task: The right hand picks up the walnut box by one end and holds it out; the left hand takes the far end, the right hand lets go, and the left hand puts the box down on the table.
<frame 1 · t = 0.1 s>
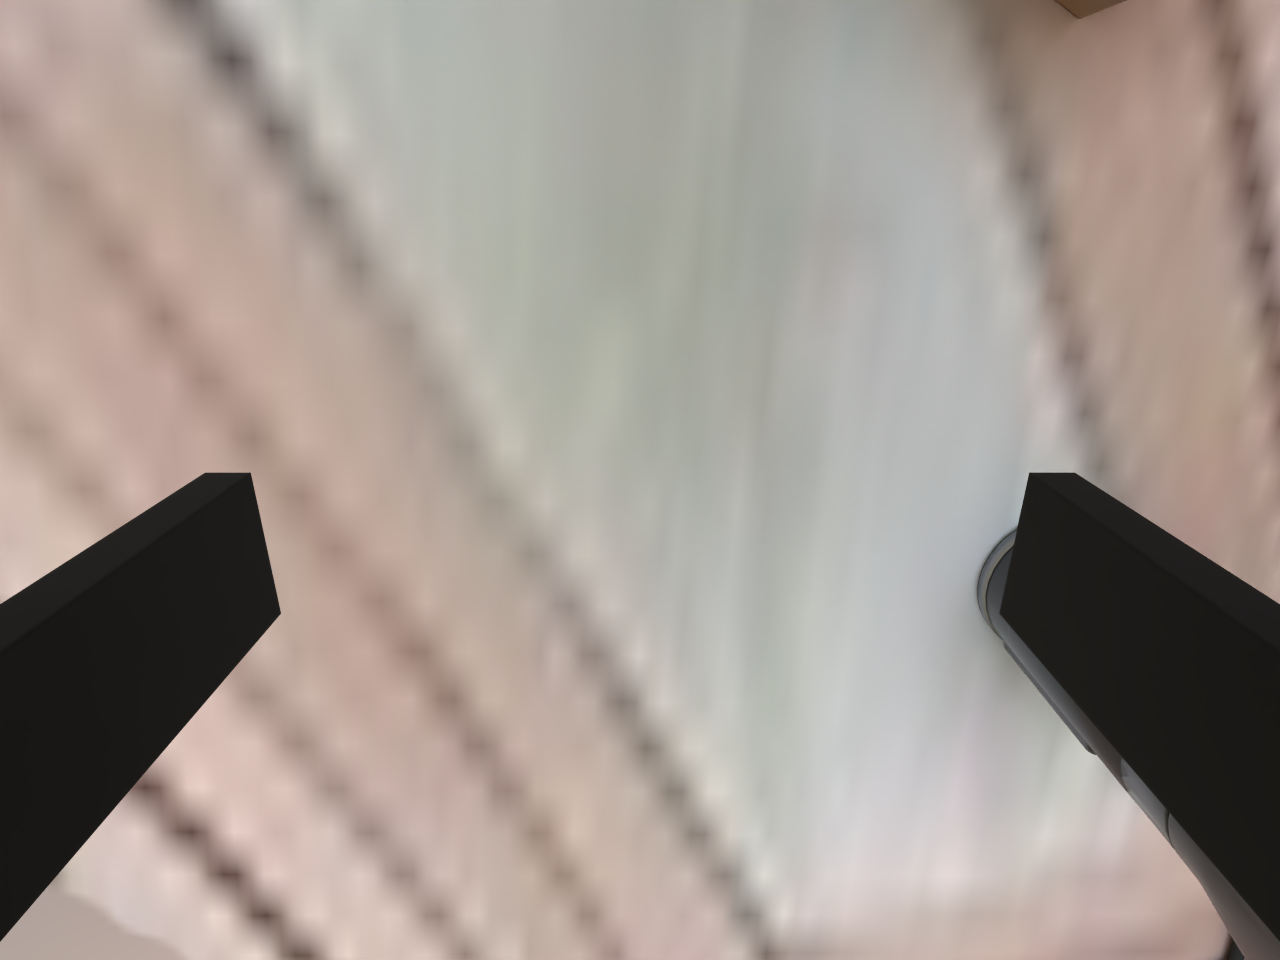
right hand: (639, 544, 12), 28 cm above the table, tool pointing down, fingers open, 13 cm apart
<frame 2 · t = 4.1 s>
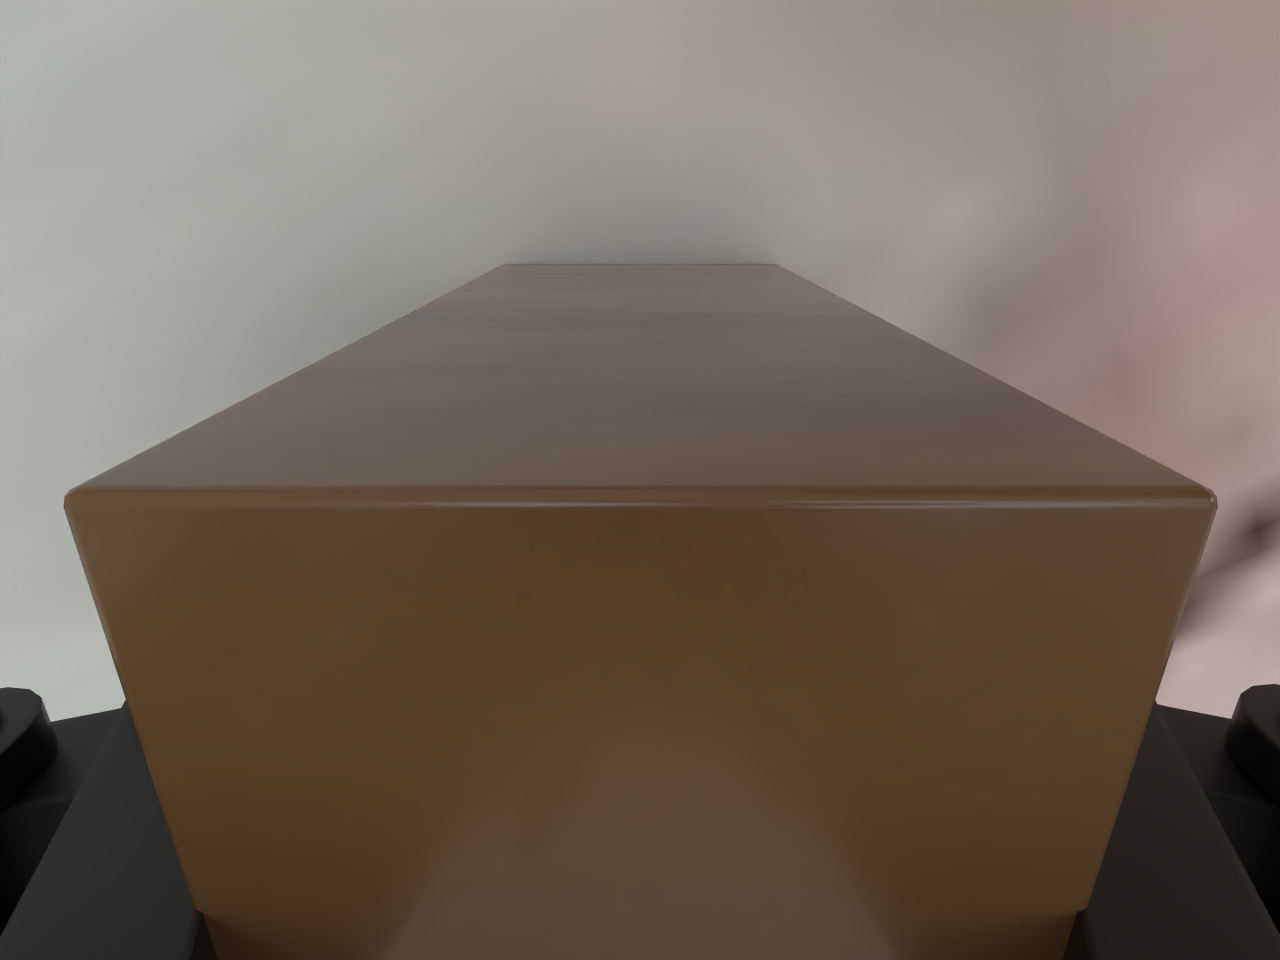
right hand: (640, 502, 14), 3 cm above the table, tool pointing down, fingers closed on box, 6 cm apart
box: (640, 706, 20), on the table, touching right hand
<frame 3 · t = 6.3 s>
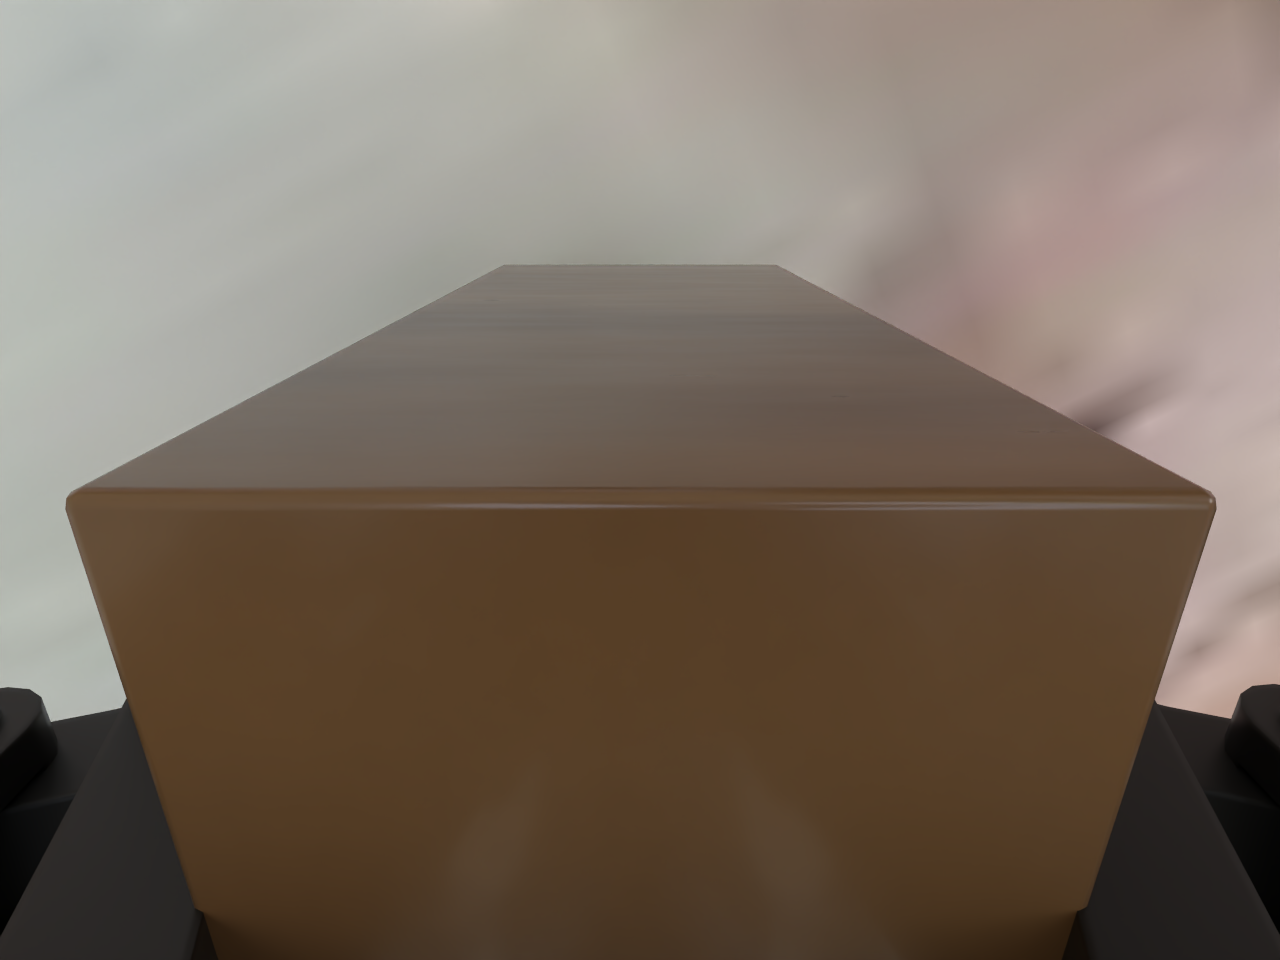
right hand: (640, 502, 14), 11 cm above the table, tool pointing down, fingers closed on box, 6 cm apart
box: (640, 706, 20), point 7 cm above the table, touching right hand
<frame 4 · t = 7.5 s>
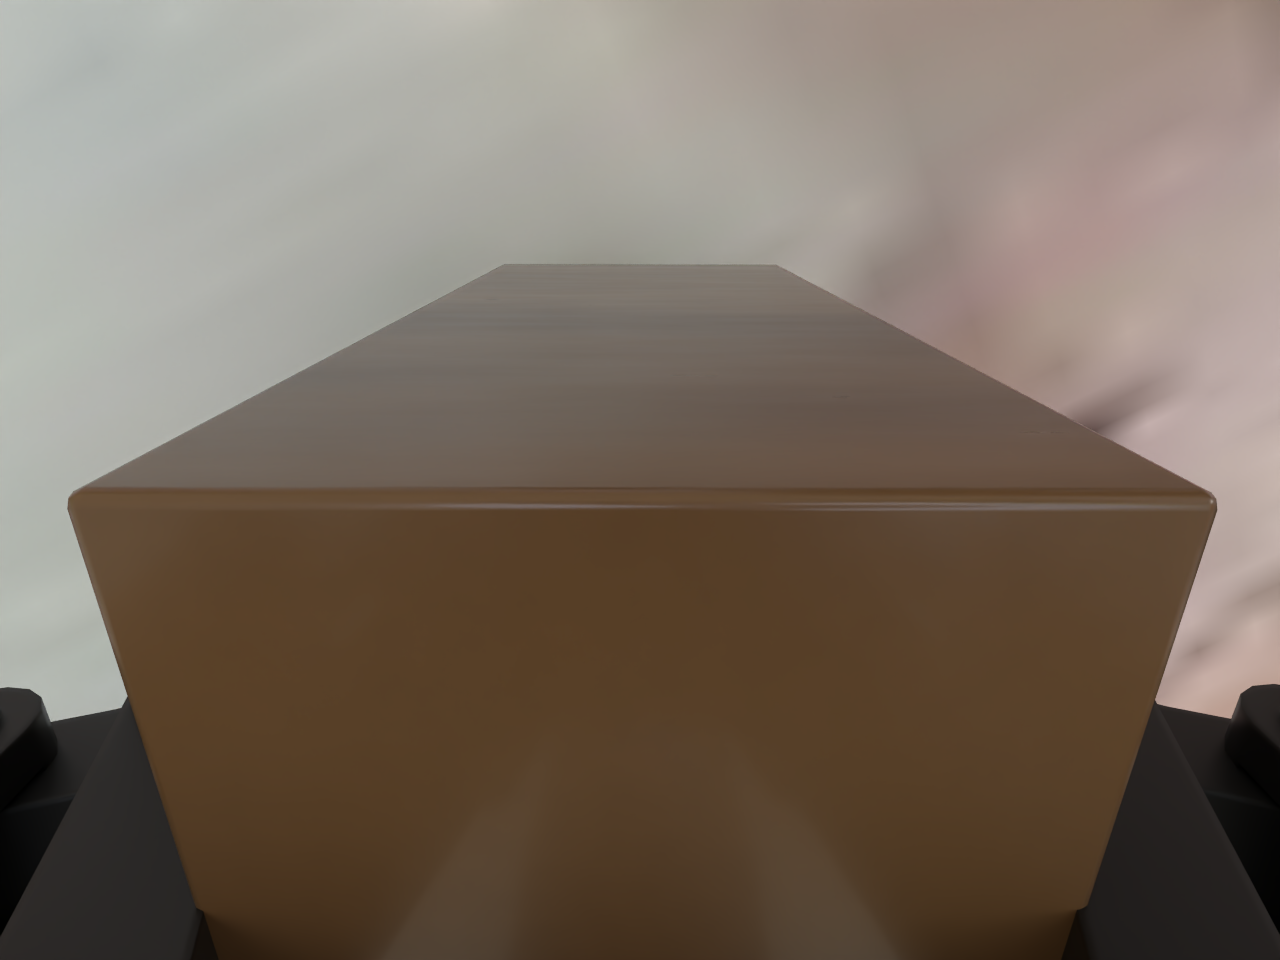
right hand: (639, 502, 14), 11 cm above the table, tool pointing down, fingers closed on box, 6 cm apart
box: (639, 705, 20), point 7 cm above the table, touching right hand, left hand
when the right hand's fingers open (11 cm above the table, at t = 8.5 s): box stays where it is, held by the left hand.
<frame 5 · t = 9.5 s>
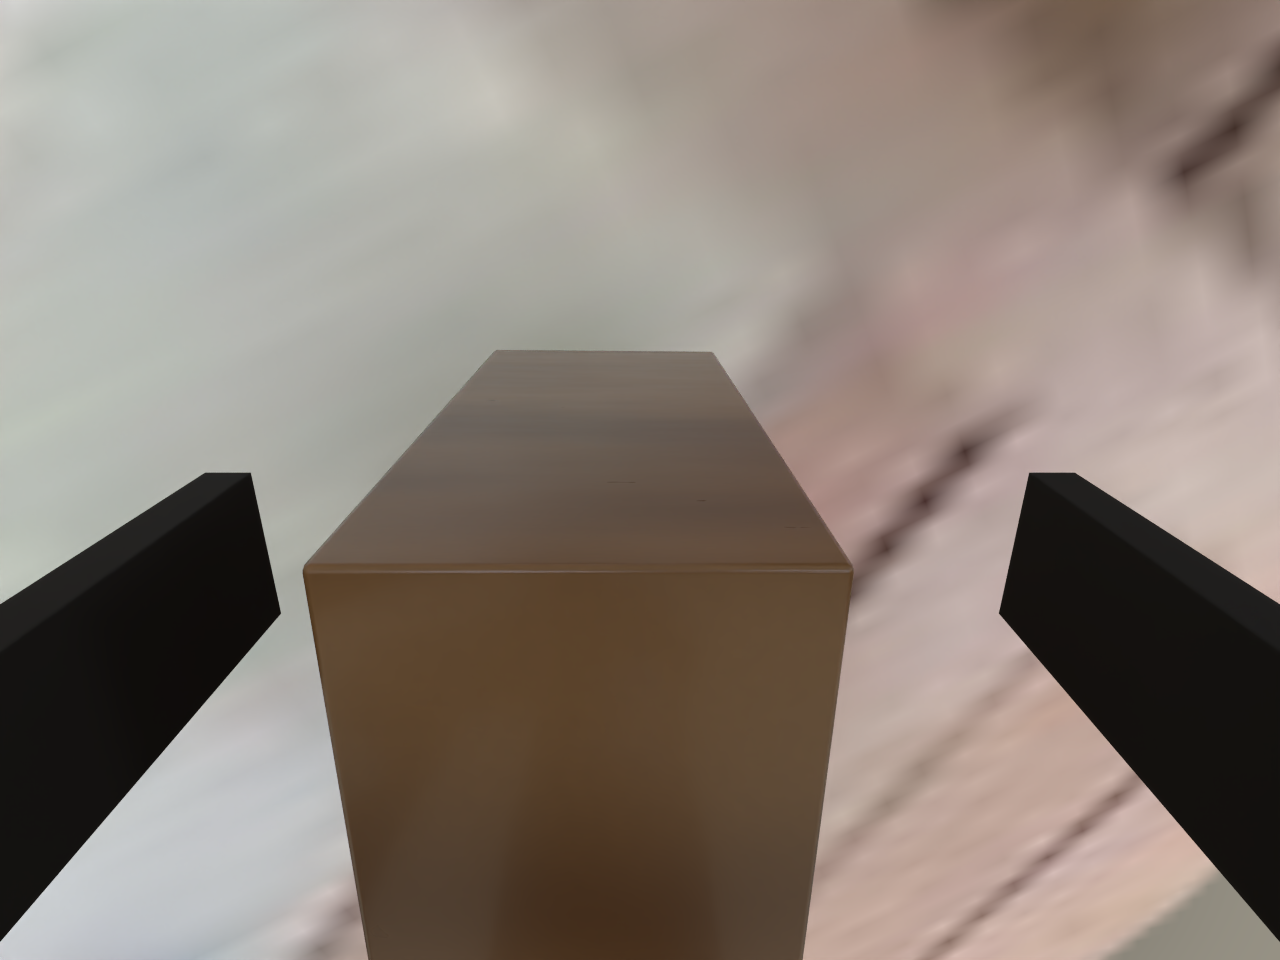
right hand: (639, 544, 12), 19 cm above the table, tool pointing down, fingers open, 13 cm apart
box: (605, 704, 24), point 10 cm above the table, touching left hand
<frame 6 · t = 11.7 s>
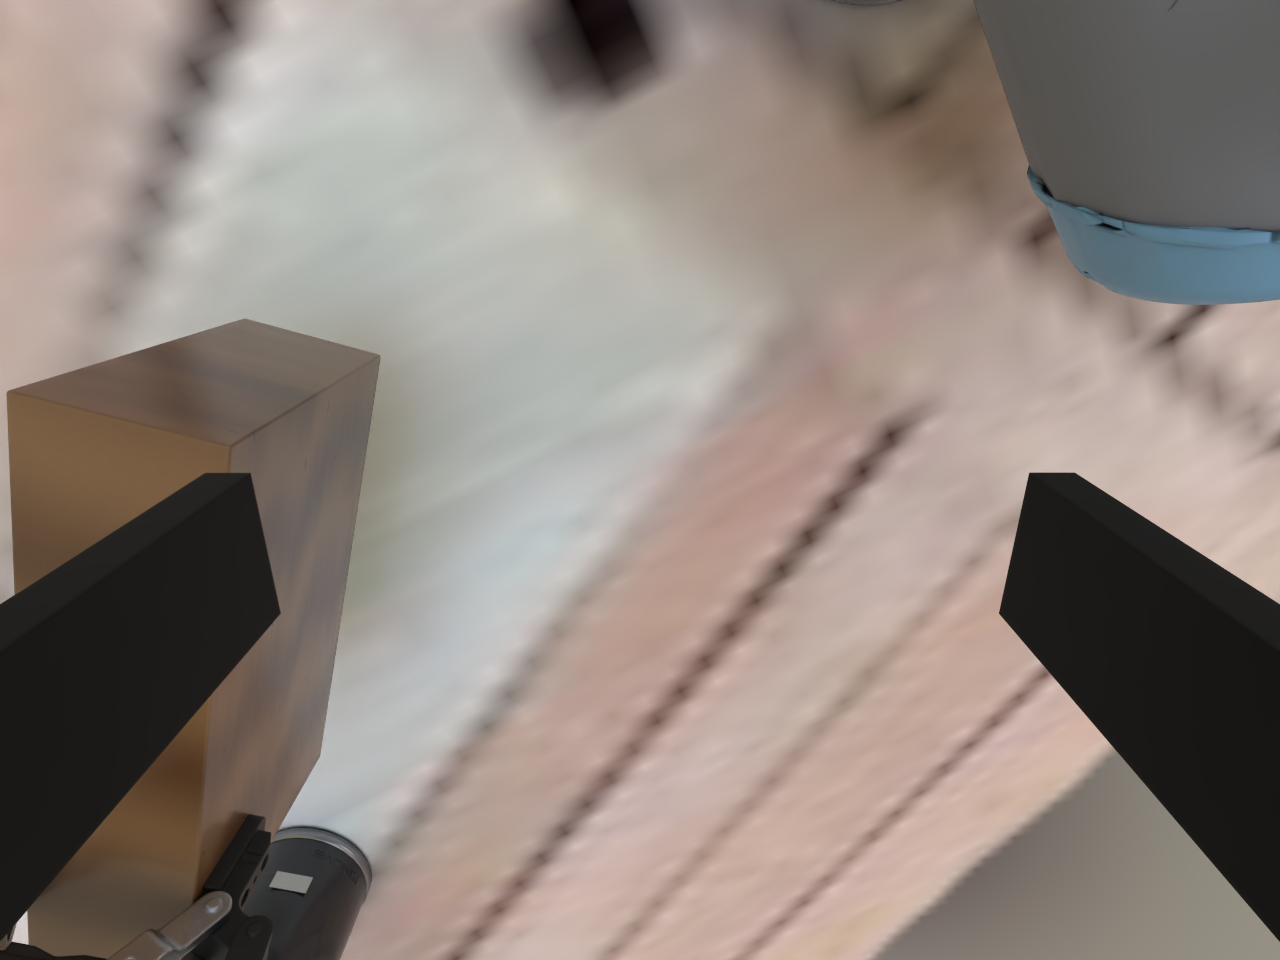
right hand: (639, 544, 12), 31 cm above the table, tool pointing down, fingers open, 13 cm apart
box: (287, 563, 36), point 10 cm above the table, touching left hand
when the left hand's fingers open (10 cm above the table, at t = 15.8 s): box drops 1 cm, on the table.
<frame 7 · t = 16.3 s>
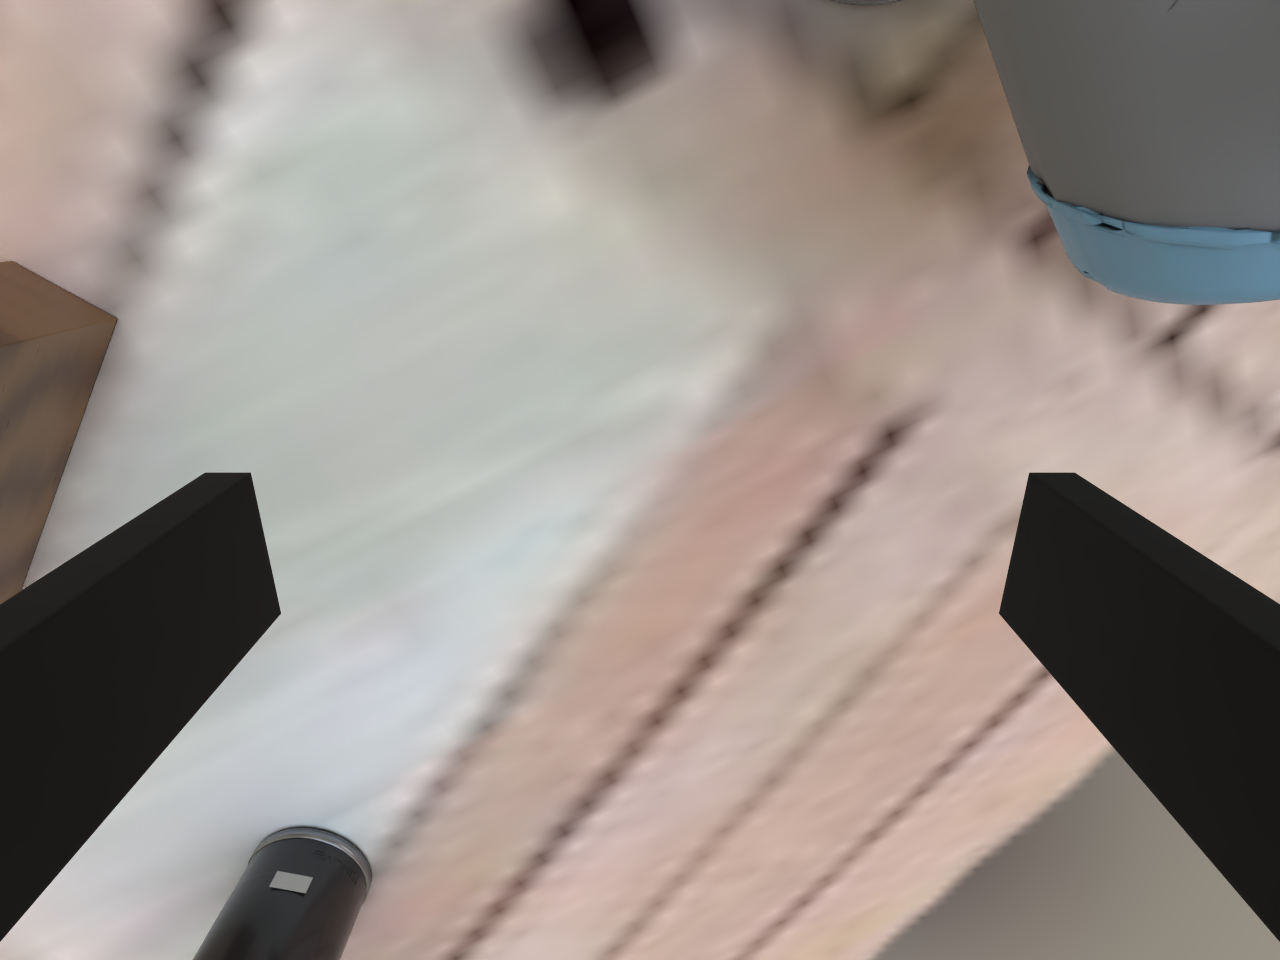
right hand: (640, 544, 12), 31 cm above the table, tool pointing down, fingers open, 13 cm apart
box: (12, 454, 44), on the table
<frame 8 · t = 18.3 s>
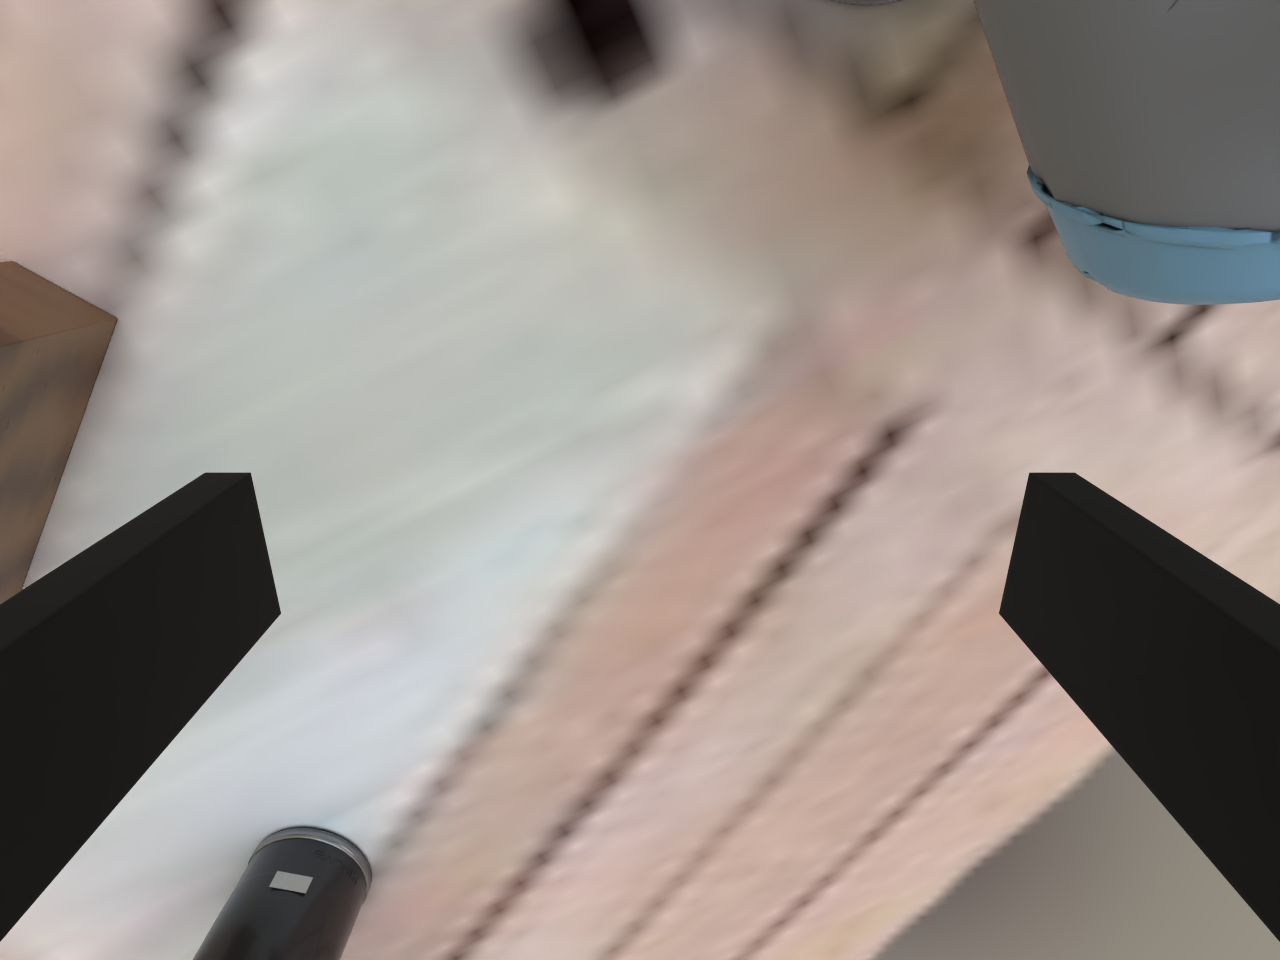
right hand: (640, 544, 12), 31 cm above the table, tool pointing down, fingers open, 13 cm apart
box: (12, 454, 44), on the table
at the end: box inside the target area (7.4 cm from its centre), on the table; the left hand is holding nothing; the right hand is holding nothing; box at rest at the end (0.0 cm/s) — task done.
